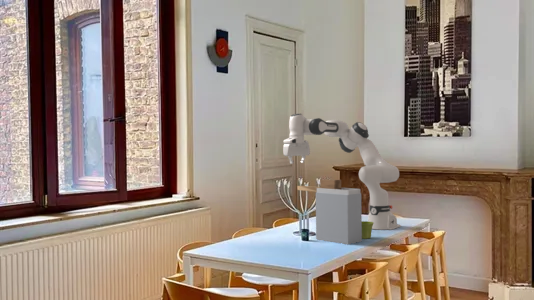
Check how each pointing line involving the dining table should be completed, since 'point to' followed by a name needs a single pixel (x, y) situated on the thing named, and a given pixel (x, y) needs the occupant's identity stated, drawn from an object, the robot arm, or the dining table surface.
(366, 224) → the plant pot
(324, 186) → the handled block
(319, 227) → the grey box
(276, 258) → the dining table surface
